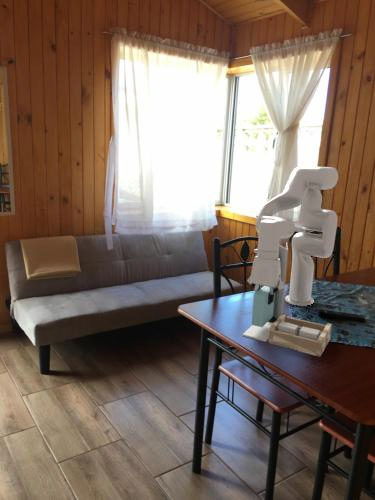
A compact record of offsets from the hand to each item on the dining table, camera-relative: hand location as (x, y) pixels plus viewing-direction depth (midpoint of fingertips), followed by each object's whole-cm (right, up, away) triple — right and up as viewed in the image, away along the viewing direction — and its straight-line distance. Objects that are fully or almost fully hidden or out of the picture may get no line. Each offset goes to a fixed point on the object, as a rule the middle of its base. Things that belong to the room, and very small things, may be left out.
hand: (264, 301), depth 153 cm
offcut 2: (+14, -15, -9) cm, 22 cm away
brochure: (+7, -8, +17) cm, 20 cm away
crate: (+12, -14, -5) cm, 19 cm away
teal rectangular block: (0, -7, +2) cm, 7 cm away
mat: (0, -11, +3) cm, 12 cm away
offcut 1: (+7, -14, -6) cm, 17 cm away
